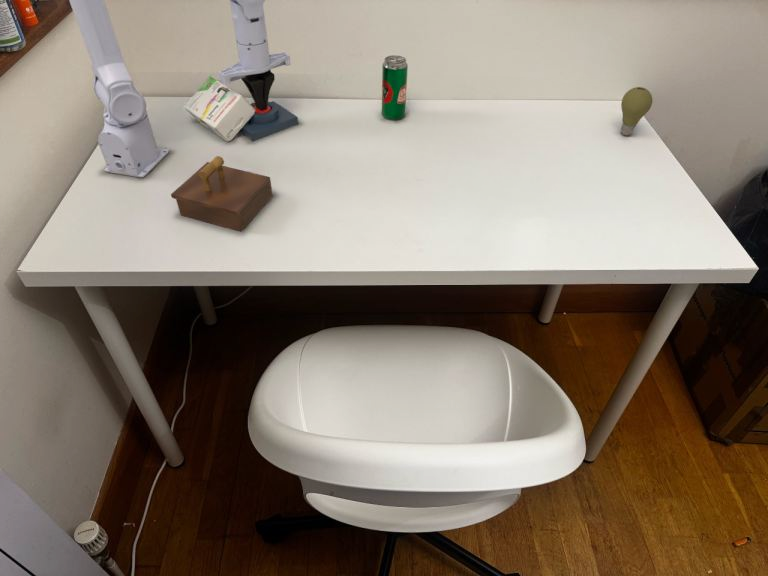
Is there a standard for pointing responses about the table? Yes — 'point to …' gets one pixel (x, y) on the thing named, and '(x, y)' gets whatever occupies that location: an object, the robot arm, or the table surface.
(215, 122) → the ink box
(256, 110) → the button
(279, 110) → the box
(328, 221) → the table surface
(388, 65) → the soda can
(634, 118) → the light bulb
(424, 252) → the table surface
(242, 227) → the chest
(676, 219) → the table surface
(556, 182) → the table surface
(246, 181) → the chest lid
